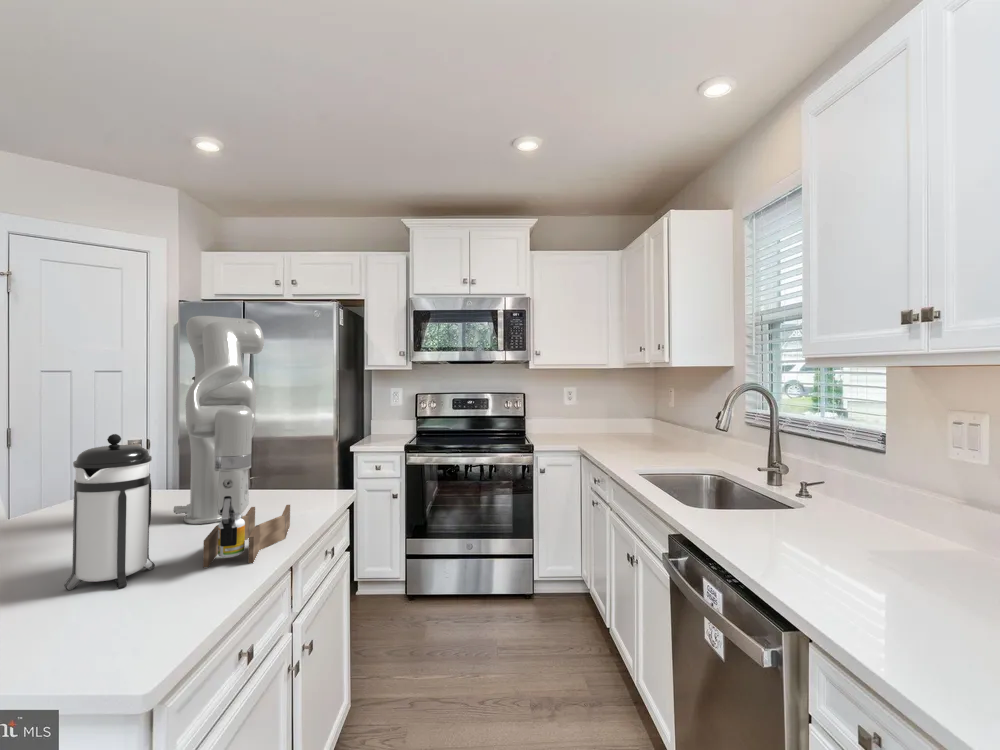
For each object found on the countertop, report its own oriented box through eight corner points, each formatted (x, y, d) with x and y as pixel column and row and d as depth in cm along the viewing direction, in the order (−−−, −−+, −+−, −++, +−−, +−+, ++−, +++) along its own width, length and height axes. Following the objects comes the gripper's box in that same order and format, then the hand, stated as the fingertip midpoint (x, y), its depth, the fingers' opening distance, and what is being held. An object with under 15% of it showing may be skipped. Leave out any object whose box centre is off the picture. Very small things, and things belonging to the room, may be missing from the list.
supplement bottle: (249, 551, 115) (250, 509, 115) (230, 559, 110) (231, 515, 110) (232, 548, 117) (232, 506, 117) (212, 555, 112) (212, 512, 111)
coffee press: (169, 577, 103) (172, 434, 104) (69, 601, 92) (72, 440, 92) (149, 556, 115) (151, 427, 115) (58, 575, 104) (60, 432, 104)
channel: (203, 567, 109) (203, 540, 109) (230, 530, 135) (231, 508, 135) (277, 561, 113) (277, 534, 113) (289, 525, 140) (290, 504, 140)
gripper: (243, 468, 106) (242, 552, 106) (257, 455, 122) (255, 528, 122) (204, 469, 104) (202, 555, 104) (223, 456, 120) (221, 530, 120)
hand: (231, 540), depth 113 cm, fingers closed on supplement bottle, 5 cm apart
